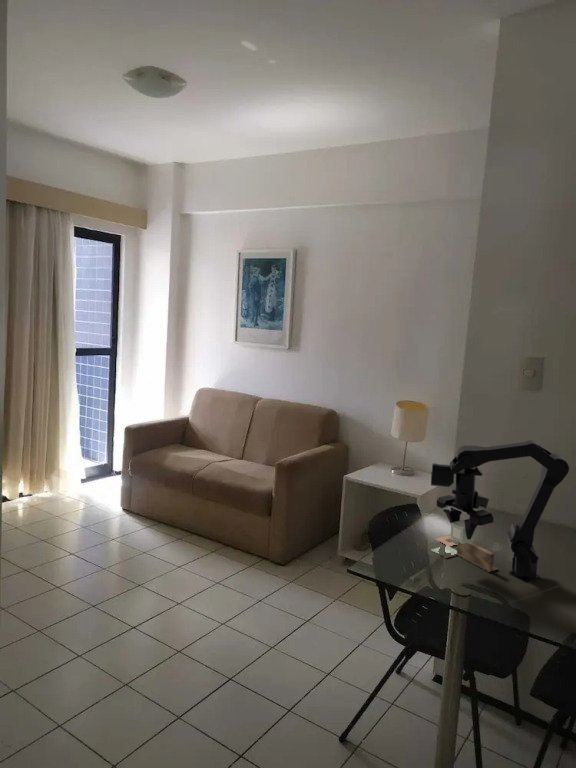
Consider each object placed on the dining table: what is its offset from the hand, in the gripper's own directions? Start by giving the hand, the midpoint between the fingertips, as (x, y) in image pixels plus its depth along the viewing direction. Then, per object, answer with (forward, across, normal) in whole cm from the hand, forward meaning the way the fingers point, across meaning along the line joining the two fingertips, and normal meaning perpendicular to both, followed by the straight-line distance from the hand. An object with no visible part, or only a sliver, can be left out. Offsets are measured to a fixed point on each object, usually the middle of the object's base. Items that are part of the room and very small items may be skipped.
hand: (462, 536), depth 178 cm
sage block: (+1, 0, 0) cm, 1 cm away
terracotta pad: (+11, +17, -11) cm, 23 cm away
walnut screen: (+11, +1, -6) cm, 13 cm away
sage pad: (+11, +11, -4) cm, 16 cm away
